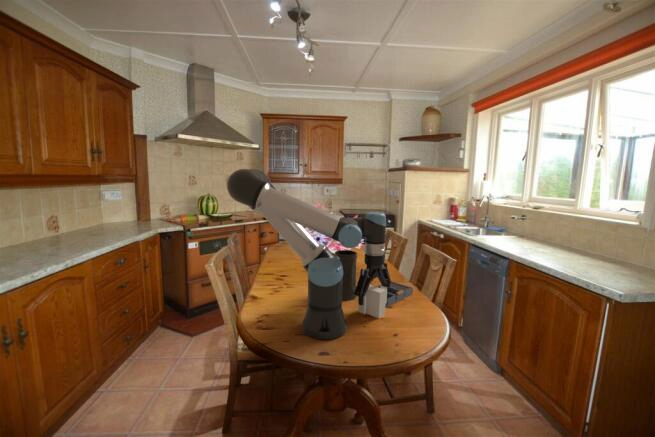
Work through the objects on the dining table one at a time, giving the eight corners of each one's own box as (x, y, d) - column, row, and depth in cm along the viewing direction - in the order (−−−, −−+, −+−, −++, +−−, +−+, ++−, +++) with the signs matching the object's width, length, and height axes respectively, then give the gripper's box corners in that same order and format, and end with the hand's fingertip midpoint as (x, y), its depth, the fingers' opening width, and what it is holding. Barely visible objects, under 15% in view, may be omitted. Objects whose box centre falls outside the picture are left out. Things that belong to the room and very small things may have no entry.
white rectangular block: (378, 318, 113) (379, 292, 111) (359, 310, 119) (360, 286, 117) (385, 315, 115) (386, 290, 114) (366, 307, 122) (367, 283, 120)
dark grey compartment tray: (386, 307, 122) (387, 298, 122) (363, 298, 131) (363, 290, 130) (412, 294, 137) (413, 286, 136) (389, 286, 145) (390, 279, 144)
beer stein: (355, 302, 127) (357, 254, 125) (330, 299, 129) (331, 253, 127) (358, 291, 142) (360, 248, 140) (336, 288, 144) (337, 247, 142)
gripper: (361, 262, 102) (360, 321, 105) (401, 249, 120) (399, 300, 123) (345, 257, 108) (344, 314, 111) (385, 246, 125) (383, 295, 128)
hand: (373, 307), depth 117 cm, fingers open, 13 cm apart
